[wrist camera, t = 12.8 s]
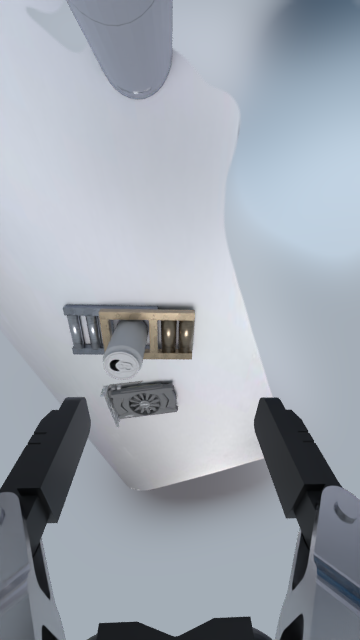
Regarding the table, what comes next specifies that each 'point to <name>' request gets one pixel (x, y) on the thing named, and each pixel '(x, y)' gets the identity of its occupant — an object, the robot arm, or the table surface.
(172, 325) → the frame
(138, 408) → the graphics card
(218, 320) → the table surface
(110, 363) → the beverage can
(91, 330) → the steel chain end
